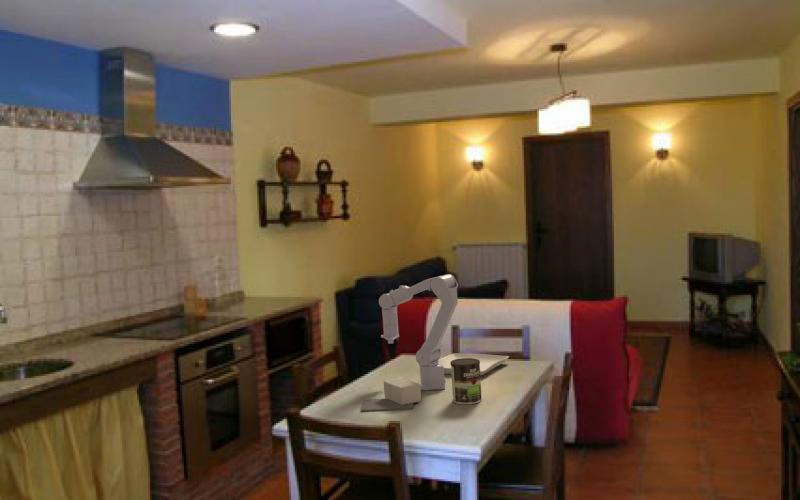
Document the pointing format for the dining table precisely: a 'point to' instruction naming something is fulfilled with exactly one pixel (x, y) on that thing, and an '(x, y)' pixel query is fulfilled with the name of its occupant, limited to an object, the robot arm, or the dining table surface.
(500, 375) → the dining table surface
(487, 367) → the square plate
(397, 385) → the small box
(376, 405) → the mat
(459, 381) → the coffee can
